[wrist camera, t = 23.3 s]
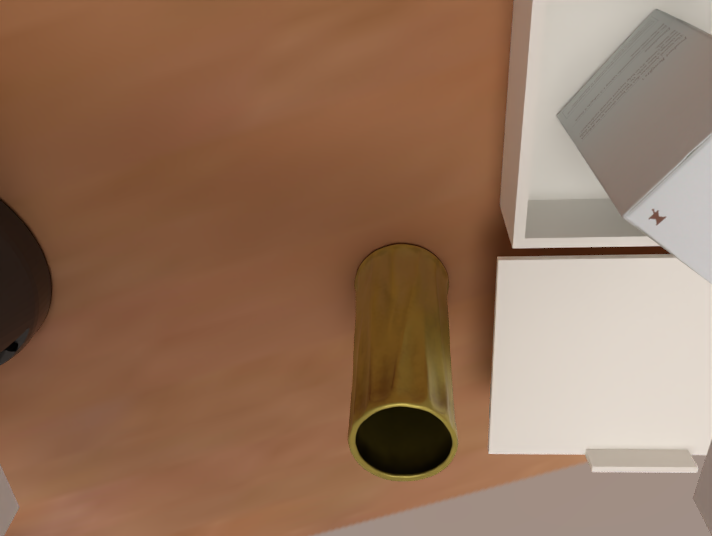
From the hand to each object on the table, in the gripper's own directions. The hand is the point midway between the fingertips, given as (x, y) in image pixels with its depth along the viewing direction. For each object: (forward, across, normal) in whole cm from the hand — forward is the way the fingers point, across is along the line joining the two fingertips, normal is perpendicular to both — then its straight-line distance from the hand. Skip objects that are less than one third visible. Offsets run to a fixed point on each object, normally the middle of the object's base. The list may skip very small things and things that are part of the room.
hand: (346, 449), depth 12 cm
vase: (+28, +2, -14) cm, 32 cm away
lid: (+20, +16, -16) cm, 30 cm away
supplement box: (+27, +16, -3) cm, 32 cm away
